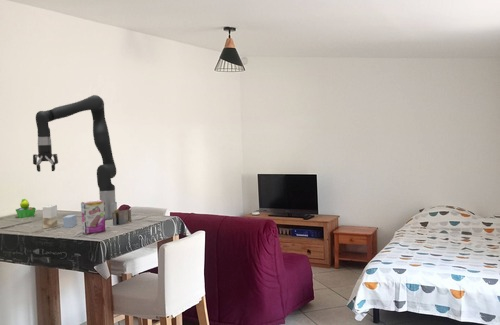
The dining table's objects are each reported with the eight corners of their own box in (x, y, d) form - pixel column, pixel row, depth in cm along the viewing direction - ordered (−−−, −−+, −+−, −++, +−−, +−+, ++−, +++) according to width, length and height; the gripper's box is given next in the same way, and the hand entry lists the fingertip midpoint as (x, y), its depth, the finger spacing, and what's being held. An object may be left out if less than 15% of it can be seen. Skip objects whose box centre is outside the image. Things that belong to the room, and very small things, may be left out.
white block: (57, 215, 282) (56, 205, 282) (51, 217, 275) (50, 207, 274) (49, 215, 283) (49, 205, 282) (43, 218, 275) (42, 207, 274)
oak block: (57, 225, 283) (56, 215, 283) (51, 228, 275) (50, 217, 275) (49, 225, 283) (49, 215, 283) (43, 228, 275) (42, 218, 275)
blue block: (77, 225, 283) (76, 214, 283) (71, 227, 276) (71, 217, 275) (69, 225, 284) (68, 214, 283) (63, 228, 276) (63, 217, 275)
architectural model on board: (116, 226, 278) (115, 209, 277) (112, 225, 280) (112, 208, 279) (132, 222, 287) (131, 206, 287) (128, 222, 289) (127, 206, 288)
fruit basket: (16, 218, 311) (15, 200, 311) (15, 216, 319) (14, 199, 318) (36, 216, 317) (35, 199, 316) (34, 214, 325) (33, 197, 324)
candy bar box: (85, 234, 255) (84, 203, 254) (81, 233, 259) (80, 202, 258) (106, 231, 263) (104, 200, 262) (102, 230, 266) (100, 199, 265)
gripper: (58, 143, 300) (60, 170, 301) (35, 144, 300) (37, 171, 301) (53, 144, 292) (55, 171, 293) (29, 144, 293) (31, 172, 294)
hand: (46, 171), depth 297 cm, fingers open, 8 cm apart
